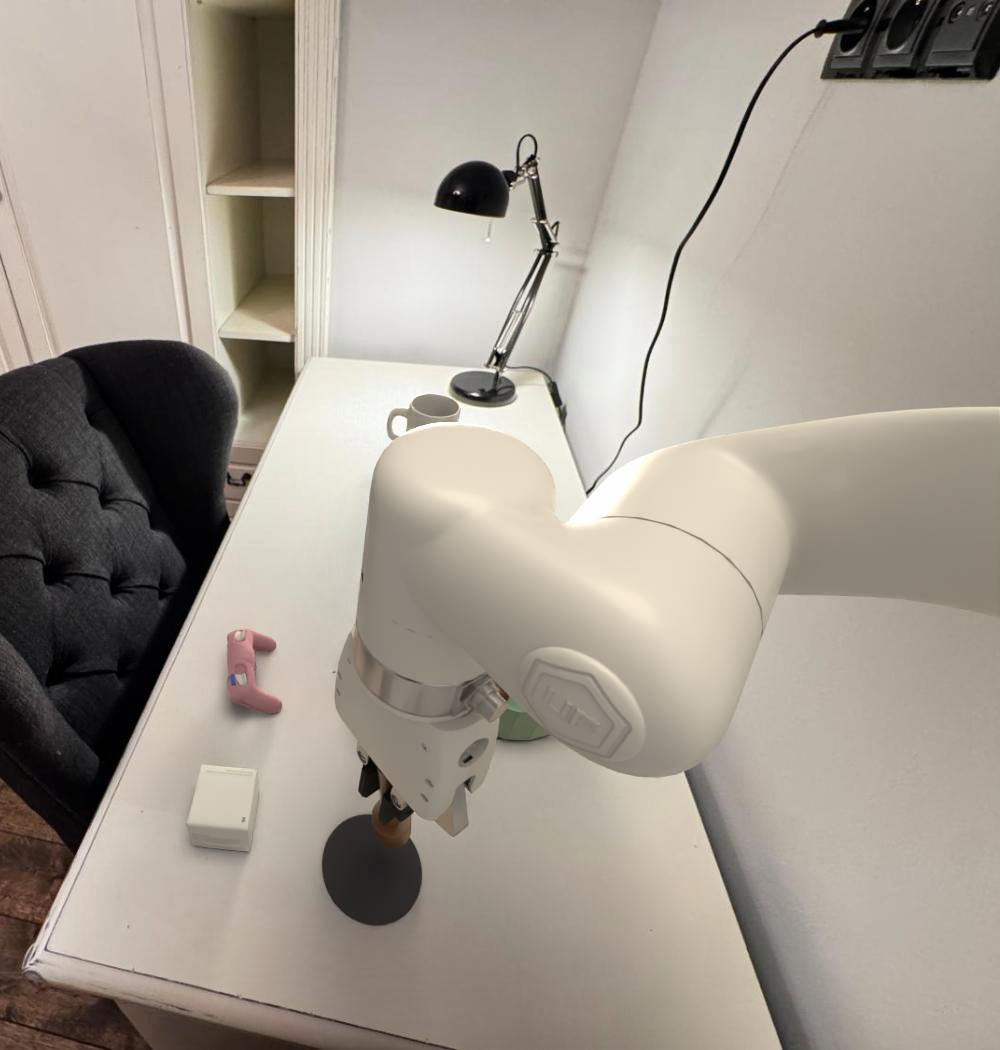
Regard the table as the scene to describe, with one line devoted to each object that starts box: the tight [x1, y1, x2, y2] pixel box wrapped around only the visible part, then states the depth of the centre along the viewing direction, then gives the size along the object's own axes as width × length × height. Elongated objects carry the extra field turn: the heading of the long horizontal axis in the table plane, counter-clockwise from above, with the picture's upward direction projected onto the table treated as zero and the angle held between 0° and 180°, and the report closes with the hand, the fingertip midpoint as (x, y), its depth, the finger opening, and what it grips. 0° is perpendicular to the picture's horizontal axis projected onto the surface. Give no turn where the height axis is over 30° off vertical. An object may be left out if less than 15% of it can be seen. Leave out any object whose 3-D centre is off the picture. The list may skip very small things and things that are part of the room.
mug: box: [386, 393, 462, 442], centre depth 99 cm, size 12×8×11 cm
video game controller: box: [226, 628, 283, 714], centre depth 65 cm, size 10×5×7 cm, turn 6°
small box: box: [185, 764, 260, 852], centre depth 53 cm, size 6×6×5 cm
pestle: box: [371, 766, 412, 848], centre depth 44 cm, size 3×3×14 cm
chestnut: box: [495, 682, 509, 702], centre depth 63 cm, size 3×3×3 cm
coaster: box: [321, 813, 423, 926], centre depth 52 cm, size 9×9×1 cm
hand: (386, 796), depth 43 cm, fingers closed on pestle
